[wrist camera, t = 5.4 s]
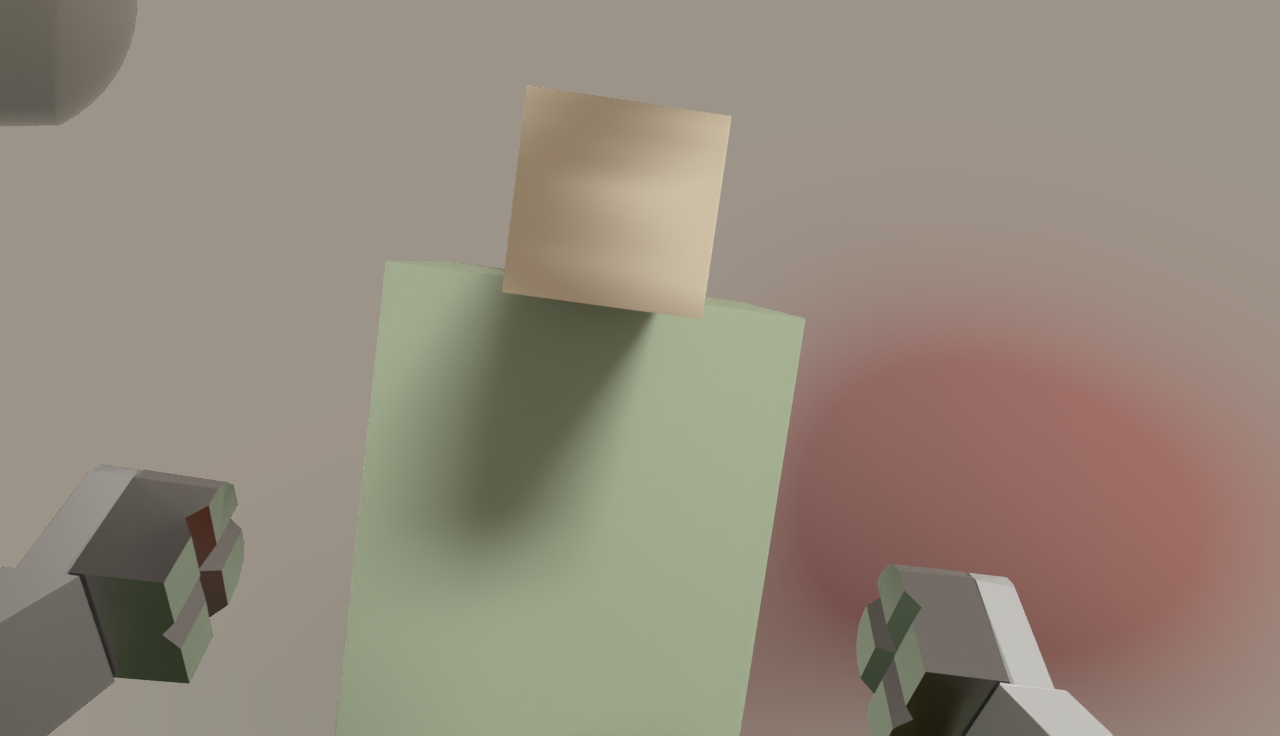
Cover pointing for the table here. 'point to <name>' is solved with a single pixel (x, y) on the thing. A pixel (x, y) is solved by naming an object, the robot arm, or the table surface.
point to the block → (615, 202)
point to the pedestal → (561, 512)
